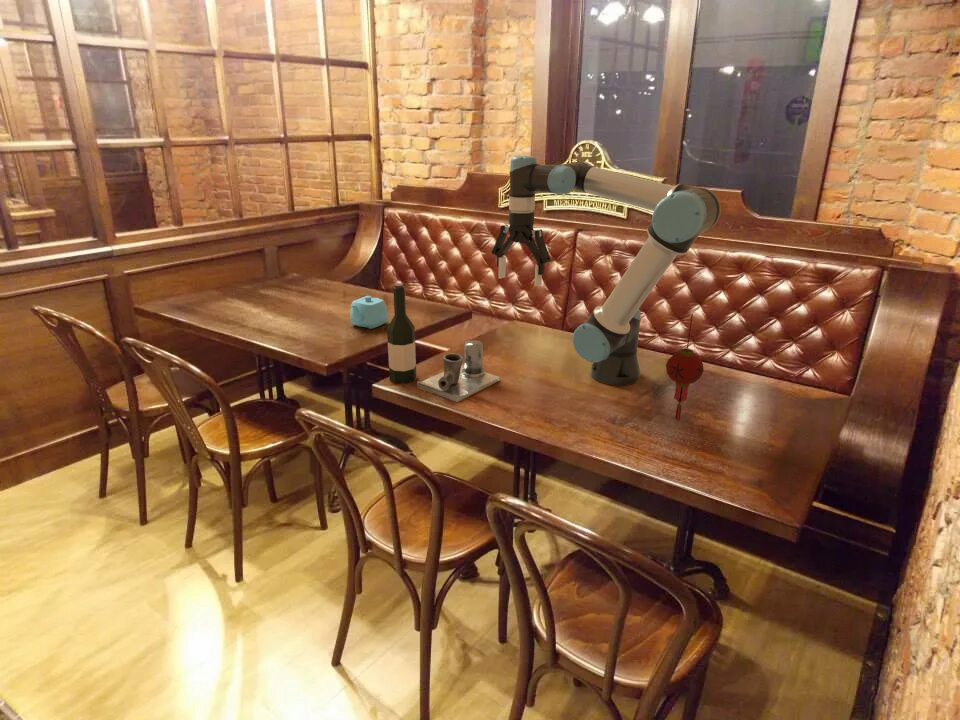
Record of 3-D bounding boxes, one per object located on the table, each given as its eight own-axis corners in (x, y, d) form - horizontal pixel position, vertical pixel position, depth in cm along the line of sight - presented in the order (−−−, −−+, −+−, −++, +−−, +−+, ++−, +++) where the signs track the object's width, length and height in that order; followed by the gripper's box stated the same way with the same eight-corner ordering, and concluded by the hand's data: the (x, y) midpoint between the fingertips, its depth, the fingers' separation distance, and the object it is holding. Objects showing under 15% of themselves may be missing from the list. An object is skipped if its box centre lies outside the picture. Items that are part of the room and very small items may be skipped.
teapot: (339, 330, 234) (337, 301, 230) (369, 317, 249) (367, 289, 245) (365, 335, 229) (364, 305, 225) (394, 322, 244) (392, 293, 239)
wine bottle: (391, 385, 187) (386, 289, 176) (387, 374, 195) (382, 282, 184) (418, 382, 189) (415, 287, 178) (414, 372, 197) (410, 280, 186)
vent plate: (500, 379, 192) (501, 346, 187) (457, 402, 177) (456, 366, 172) (461, 367, 201) (461, 334, 197) (417, 387, 186) (415, 352, 182)
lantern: (652, 419, 168) (665, 313, 156) (670, 408, 174) (684, 306, 163) (684, 431, 161) (700, 322, 150) (702, 419, 167) (718, 314, 156)
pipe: (433, 390, 179) (434, 364, 176) (446, 376, 191) (447, 351, 188) (453, 393, 178) (454, 367, 175) (465, 378, 189) (466, 354, 187)
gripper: (564, 213, 178) (560, 285, 186) (496, 205, 192) (495, 272, 200) (550, 217, 172) (546, 290, 180) (480, 208, 187) (480, 277, 195)
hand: (519, 281), depth 190 cm, fingers open, 13 cm apart
